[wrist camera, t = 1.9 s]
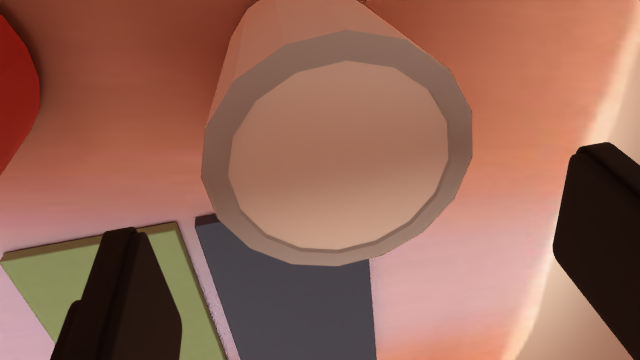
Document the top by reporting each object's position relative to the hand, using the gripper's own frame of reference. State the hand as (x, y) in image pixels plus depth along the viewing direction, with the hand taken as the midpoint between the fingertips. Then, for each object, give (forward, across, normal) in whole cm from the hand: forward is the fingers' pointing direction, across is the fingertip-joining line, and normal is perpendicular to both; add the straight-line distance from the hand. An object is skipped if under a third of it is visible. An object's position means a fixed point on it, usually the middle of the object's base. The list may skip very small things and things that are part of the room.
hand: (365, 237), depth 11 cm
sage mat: (+9, +10, +11) cm, 18 cm away
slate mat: (+9, +2, +11) cm, 15 cm away
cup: (+9, 0, -1) cm, 9 cm away
